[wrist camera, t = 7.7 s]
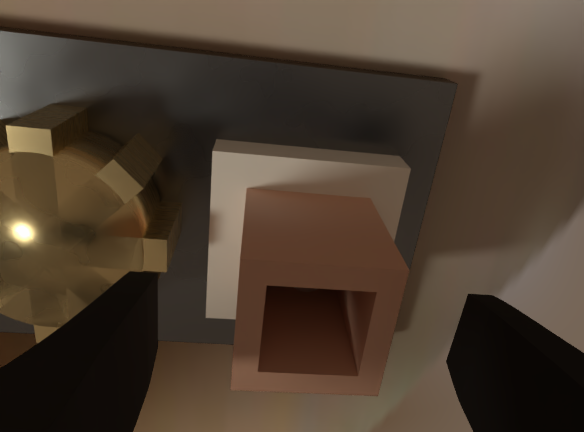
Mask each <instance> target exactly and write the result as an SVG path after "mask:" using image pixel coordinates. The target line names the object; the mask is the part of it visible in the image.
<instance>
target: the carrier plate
mask: <svg viewBox="0 0 584 432" xmlns="http://www.w3.org/2000/svg"><path fill="white" fill-rule="evenodd" d="M457 85H458V84H457V83H454V82H452V81H450V80H447V79H443V78H435V77H426V76H418V75H409V74H401V73H392V72H384V71H375V70H366V69H358V68H349V67H341V66H332V65H324V64H315V63H307V62H298V61H290V60H281V59H272V58H264V57H255V56H247V55H238V54H230V53H221V52H213V51H204V50H195V49H187V48H178V47H170V46H161V45H153V44H144V43H136V42H127V41H118V40H110V39H101V38H93V37H84V36H76V35H67V34H59V33H50V32H41V31H33V30H24V29H16V28H7V27H0V332H12V333H30V334H35V338H36V343H39V342H41V341H42V340H43V339H45V338H46V337H47V336H49V335H50V334H52V333H53V332H54V331H56V330H57V329H59V328H60V327H61V326H63V325H64V324H65V323H67V322H68V321H69V320H70V319H72V318H73V317H74V316H75V315H77V314H78V313H79V312H80V311H82V310H83V309H84V308H85V307H87V306H88V305H89V304H90V303H92V302H93V301H94V300H95V299H96V298H98V297H99V296H100V295H101V294H102V293H104V292H105V291H106V290H107V289H108V288H109V287H111V286H112V285H113V284H114V283H115V282H117V281H118V280H119V279H120V278H122V277H123V276H124V275H125V274H127V273H128V272H129V271H135V272H150V273H158V341H176V342H194V343H212V344H230V345H234V335H235V321H236V319H219V318H206V297H207V273H208V248H209V224H210V199H211V175H212V151H213V148H214V145H215V142H216V139H221V140H232V141H243V142H254V143H264V144H275V145H286V146H297V147H308V148H319V149H329V150H340V151H351V152H362V153H373V154H384V155H394V156H400V157H401V158H402V159H403V160H404V161H405V163H406V164H407V165H408V166H409V167H410V168H411V171H410V175H409V179H408V184H407V188H406V192H405V197H404V201H403V206H402V210H401V214H400V219H399V223H398V227H397V232H396V236H395V241H394V243H395V245H396V246H397V248H398V250H399V252H400V254H401V256H402V257H403V259H404V261H405V263H406V265H407V267H408V269H409V270H410V266H411V263H412V259H413V255H414V251H415V247H416V243H417V239H418V236H419V232H420V228H421V224H422V220H423V216H424V212H425V208H426V205H427V201H428V197H429V193H430V189H431V185H432V181H433V178H434V174H435V170H436V166H437V162H438V158H439V154H440V150H441V147H442V143H443V139H444V135H445V131H446V127H447V123H448V120H449V116H450V112H451V108H452V104H453V100H454V96H455V92H456V89H457ZM294 288H296V289H297V290H299V291H303V292H312V291H315V290H317V288H301V287H294Z"/></svg>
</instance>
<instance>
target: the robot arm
mask: <svg viewBox="0 0 584 432" xmlns="http://www.w3.org/2000/svg"><path fill="white" fill-rule="evenodd" d="M157 349H158V273H150V272H135V271H129V272H128V273H127V274H125V275H124V276H123V277H122V278H120V279H119V280H118V281H117V282H115V283H114V284H113V285H112V286H111V287H109V288H108V289H107V290H106V291H105V292H104V293H102V294H101V295H100V296H99V297H98V298H96V299H95V300H94V301H93V302H92V303H90V304H89V305H88V306H87V307H85V308H84V309H83V310H82V311H80V312H79V313H78V314H77V315H75V316H74V317H73V318H72V319H70V320H69V321H68V322H67V323H65V324H64V325H63V326H61V327H60V328H59V329H57V330H56V331H54V332H53V333H52V334H50V335H49V336H47V337H46V338H45V339H43V340H42V341H41V342H39V343H38V344H36V345H35V346H34V347H32V348H31V349H29V350H28V351H26V352H25V353H23V354H22V355H20V356H19V357H17V358H16V359H14V360H13V361H11V362H9V363H8V364H6V365H5V366H3V367H1V368H0V432H133V430H134V427H135V425H136V422H137V419H138V416H139V414H140V411H141V408H142V405H143V402H144V399H145V397H146V394H147V391H148V388H149V384H150V380H151V375H152V371H153V367H154V362H155V358H156V353H157ZM446 362H447V365H448V369H449V372H450V375H451V378H452V382H453V385H454V388H455V391H456V394H457V397H458V399H459V402H460V404H461V406H462V409H463V411H464V413H465V415H466V417H467V419H468V421H469V423H470V425H471V428H472V430H473V432H584V353H583V352H581V351H580V350H578V349H577V348H575V347H574V346H572V345H571V344H569V343H567V342H566V341H564V340H563V339H561V338H560V337H558V336H557V335H555V334H554V333H552V332H551V331H549V330H548V329H546V328H545V327H543V326H542V325H540V324H539V323H537V322H536V321H534V320H532V319H531V318H530V317H528V316H526V315H525V314H523V313H522V312H520V311H519V310H517V309H516V308H514V307H512V306H511V305H509V304H507V303H506V302H504V301H502V300H500V299H499V298H497V297H495V296H493V295H479V294H468V296H467V299H466V302H465V305H464V308H463V311H462V314H461V318H460V321H459V324H458V327H457V330H456V333H455V336H454V339H453V342H452V345H451V348H450V351H449V354H448V357H447V360H446Z"/></svg>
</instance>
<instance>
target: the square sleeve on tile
mask: <svg viewBox="0 0 584 432" xmlns="http://www.w3.org/2000/svg"><path fill="white" fill-rule="evenodd" d="M410 171H411V168H410V167H409V166H408V165H407V164H406V163H405V161H404V160H403V159H402V158H401V157H400V156H394V155H384V154H373V153H362V152H351V151H340V150H329V149H319V148H308V147H297V146H286V145H275V144H264V143H254V142H243V141H232V140H221V139H216V142H215V145H214V148H213V151H212V175H211V199H210V224H209V248H208V273H207V297H206V318H219V319H236V321H235V335H234V348H233V362H232V375H231V389H230V390H240V391H265V392H290V393H315V394H339V395H364V396H378V394H379V390H380V386H381V382H382V378H383V374H384V370H385V366H386V362H387V358H388V354H389V350H390V346H391V342H392V338H393V334H394V330H395V326H396V322H397V318H398V314H399V310H400V306H401V302H402V298H403V294H404V290H405V287H406V283H407V279H408V275H409V271H410V270H409V269H408V267H407V265H406V263H405V261H404V259H403V257H402V256H401V254H400V252H399V250H398V248H397V246H396V245H395V243H394V241H395V236H396V232H397V227H398V223H399V219H400V214H401V210H402V206H403V201H404V197H405V192H406V188H407V184H408V179H409V175H410ZM294 287H301V288H317V290H315V291H312V292H303V291H299V290H297V289H296V288H294Z"/></svg>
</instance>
